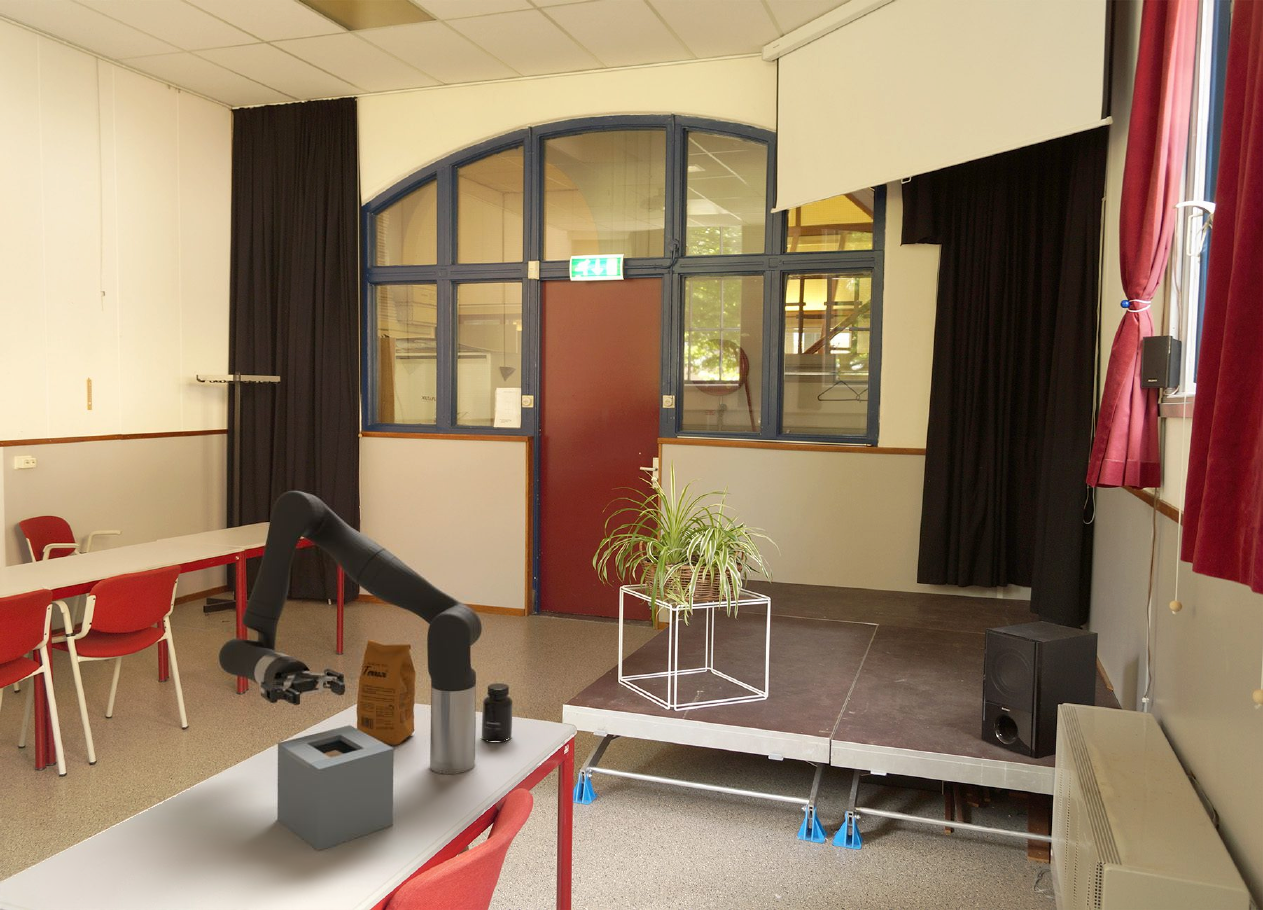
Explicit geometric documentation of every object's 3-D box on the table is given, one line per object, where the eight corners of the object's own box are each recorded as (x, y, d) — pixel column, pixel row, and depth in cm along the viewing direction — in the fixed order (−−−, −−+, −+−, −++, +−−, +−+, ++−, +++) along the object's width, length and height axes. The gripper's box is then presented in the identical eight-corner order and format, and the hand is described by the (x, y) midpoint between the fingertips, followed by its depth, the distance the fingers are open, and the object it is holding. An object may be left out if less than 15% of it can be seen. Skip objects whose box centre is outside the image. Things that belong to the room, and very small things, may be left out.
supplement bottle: (487, 745, 200) (488, 692, 199) (477, 735, 206) (478, 683, 205) (516, 740, 203) (517, 688, 202) (506, 730, 209) (506, 680, 208)
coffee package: (375, 726, 210) (376, 633, 209) (420, 733, 206) (422, 639, 205) (348, 740, 200) (349, 643, 200) (395, 748, 196) (396, 649, 195)
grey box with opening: (277, 819, 161) (277, 743, 161) (349, 796, 171) (349, 725, 171) (318, 850, 150) (319, 769, 150) (392, 825, 160) (393, 748, 160)
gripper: (245, 662, 170) (283, 682, 158) (316, 649, 180) (356, 667, 169) (245, 701, 170) (282, 723, 159) (316, 686, 180) (356, 706, 169)
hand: (320, 694), depth 164 cm, fingers open, 8 cm apart
